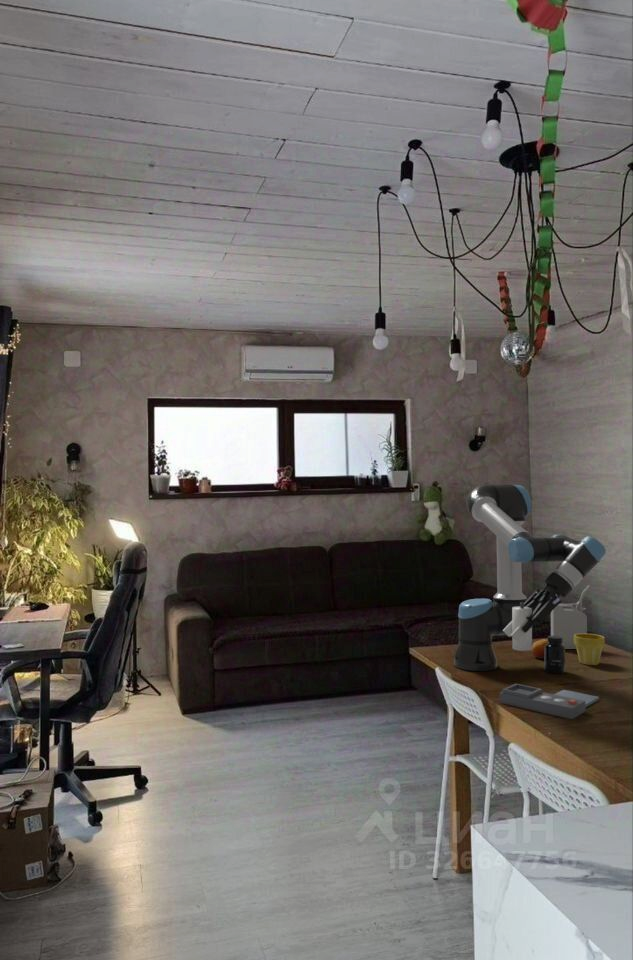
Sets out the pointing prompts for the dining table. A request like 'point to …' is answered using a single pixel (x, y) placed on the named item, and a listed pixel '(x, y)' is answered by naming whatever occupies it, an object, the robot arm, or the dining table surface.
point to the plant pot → (589, 648)
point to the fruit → (539, 648)
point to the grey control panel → (541, 701)
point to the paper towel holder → (517, 618)
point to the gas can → (569, 622)
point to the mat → (578, 696)
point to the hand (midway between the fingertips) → (510, 636)
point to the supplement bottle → (554, 655)
